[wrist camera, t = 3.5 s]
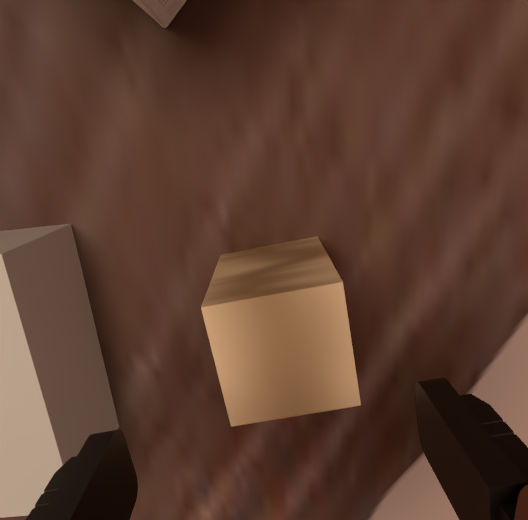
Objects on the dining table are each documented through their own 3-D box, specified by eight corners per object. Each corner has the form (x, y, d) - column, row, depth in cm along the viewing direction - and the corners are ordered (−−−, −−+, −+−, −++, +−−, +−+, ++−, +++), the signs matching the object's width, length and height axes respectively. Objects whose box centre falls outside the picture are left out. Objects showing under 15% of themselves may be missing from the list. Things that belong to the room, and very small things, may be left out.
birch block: (317, 236, 21) (342, 281, 14) (331, 325, 22) (361, 405, 16) (220, 254, 21) (201, 307, 15) (240, 341, 23) (231, 426, 16)
